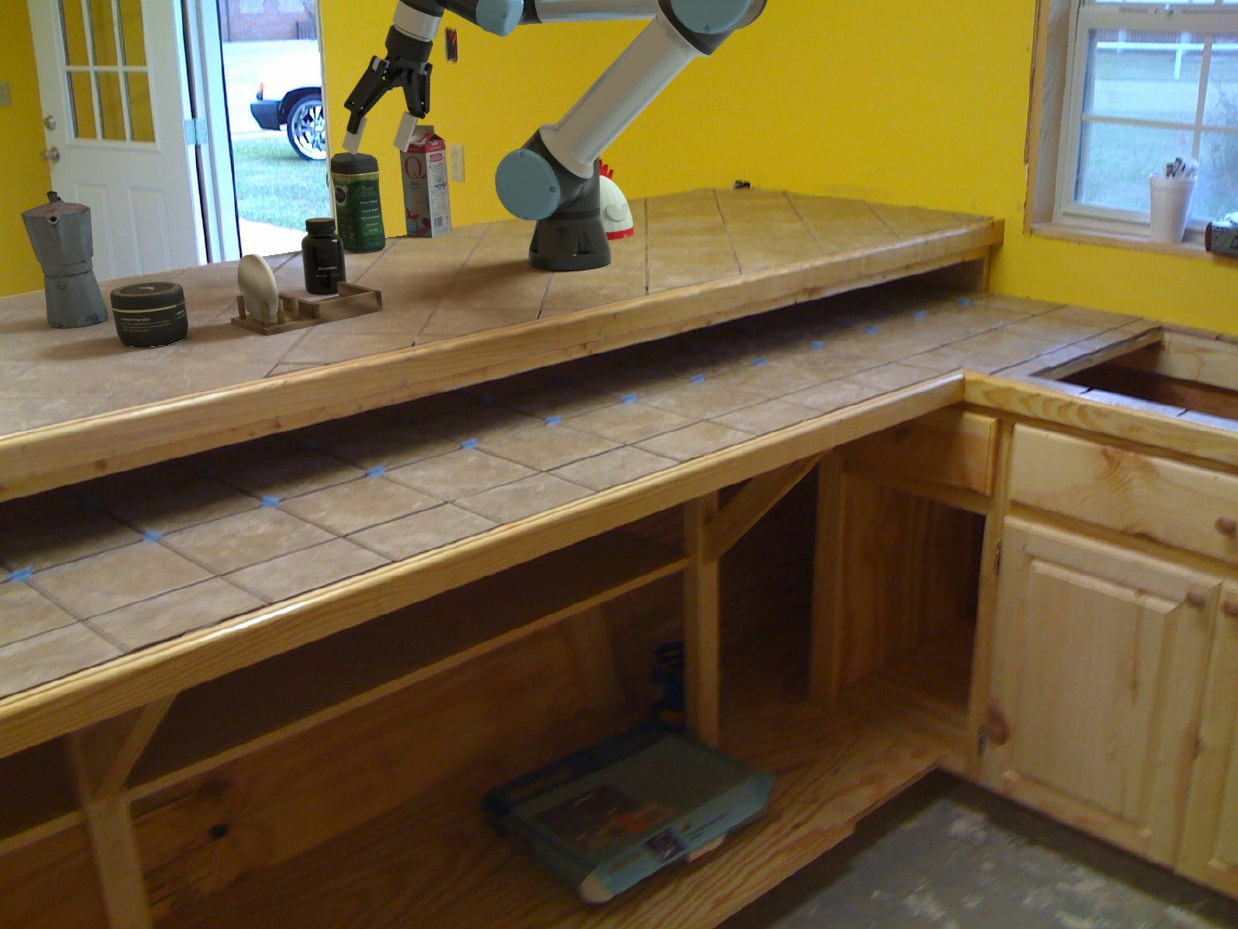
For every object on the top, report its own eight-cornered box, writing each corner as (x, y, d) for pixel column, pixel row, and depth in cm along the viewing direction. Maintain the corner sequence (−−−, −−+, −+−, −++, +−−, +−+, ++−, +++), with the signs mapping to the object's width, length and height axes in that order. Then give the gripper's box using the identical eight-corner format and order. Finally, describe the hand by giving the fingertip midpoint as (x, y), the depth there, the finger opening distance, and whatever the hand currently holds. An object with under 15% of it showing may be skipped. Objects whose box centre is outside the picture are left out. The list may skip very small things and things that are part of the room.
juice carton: (432, 237, 244) (423, 126, 236) (406, 235, 247) (397, 125, 239) (451, 232, 249) (444, 123, 241) (426, 230, 252) (417, 122, 244)
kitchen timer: (552, 235, 244) (548, 160, 239) (601, 226, 253) (599, 153, 247) (597, 243, 235) (594, 165, 229) (647, 233, 243) (646, 158, 238)
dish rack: (344, 299, 194) (337, 233, 190) (382, 310, 186) (376, 241, 183) (231, 323, 181) (221, 252, 177) (267, 335, 173) (258, 261, 170)
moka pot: (42, 336, 176) (14, 199, 169) (44, 313, 189) (18, 185, 182) (111, 328, 180) (87, 193, 172) (108, 306, 193) (85, 181, 185)
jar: (138, 331, 178) (129, 280, 175) (202, 331, 177) (194, 280, 174) (105, 349, 168) (95, 296, 166) (172, 349, 167) (164, 296, 165)
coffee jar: (393, 249, 233) (384, 152, 226) (356, 255, 228) (346, 156, 222) (368, 243, 240) (359, 148, 233) (332, 248, 235) (322, 152, 228)
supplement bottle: (327, 297, 195) (319, 224, 191) (297, 293, 199) (288, 221, 195) (356, 289, 201) (349, 217, 197) (327, 285, 204) (319, 214, 200)
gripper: (441, 26, 209) (403, 138, 219) (346, 17, 188) (309, 140, 198) (473, 45, 207) (434, 157, 217) (381, 38, 186) (342, 162, 196)
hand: (374, 149), depth 207 cm, fingers open, 13 cm apart
